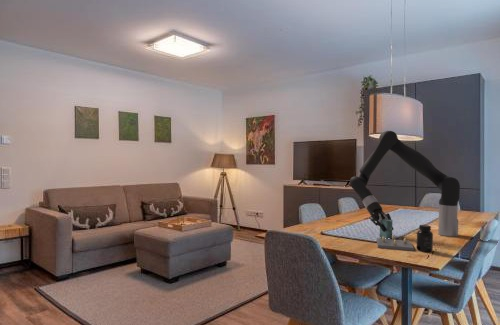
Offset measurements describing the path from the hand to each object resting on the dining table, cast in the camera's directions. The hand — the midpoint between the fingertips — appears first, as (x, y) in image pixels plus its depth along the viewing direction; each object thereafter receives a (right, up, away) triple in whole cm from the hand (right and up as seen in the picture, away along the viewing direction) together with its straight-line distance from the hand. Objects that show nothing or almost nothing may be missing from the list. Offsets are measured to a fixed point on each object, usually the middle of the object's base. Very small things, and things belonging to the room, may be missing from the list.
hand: (388, 230), depth 185 cm
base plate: (-3, -5, -13) cm, 15 cm away
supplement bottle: (+8, -5, -22) cm, 24 cm away
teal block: (-1, -5, +2) cm, 5 cm away
